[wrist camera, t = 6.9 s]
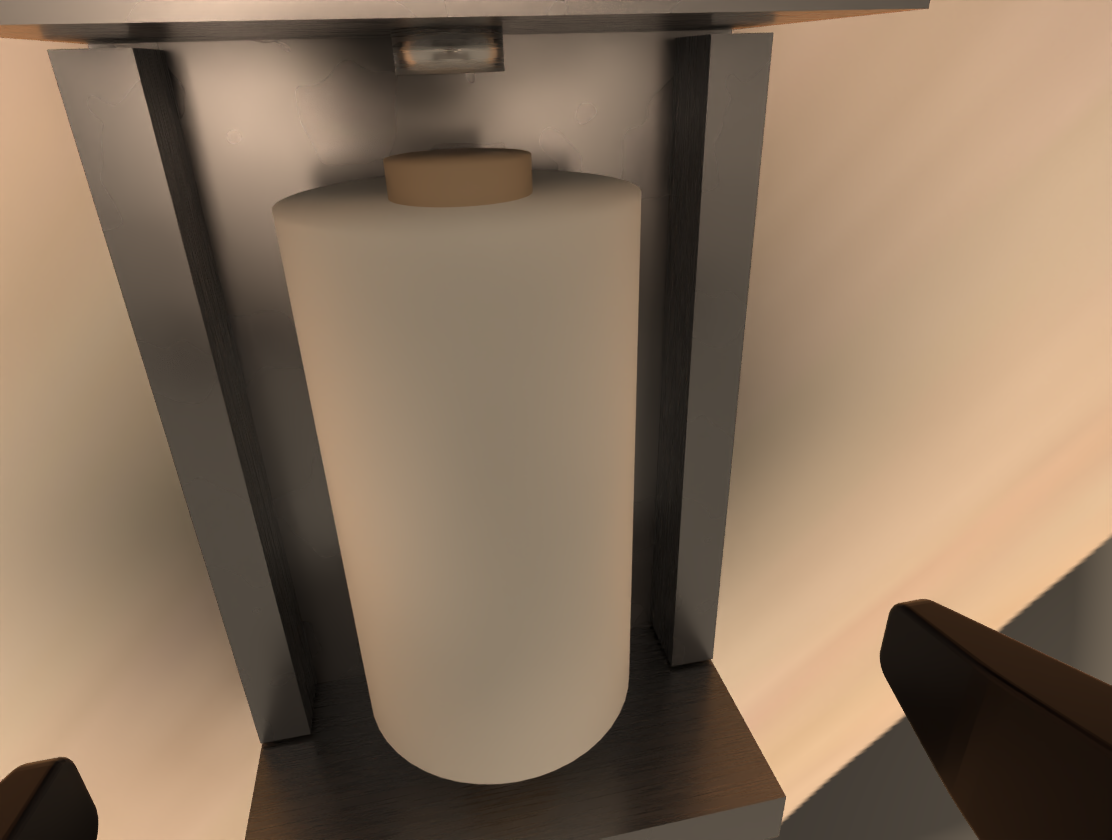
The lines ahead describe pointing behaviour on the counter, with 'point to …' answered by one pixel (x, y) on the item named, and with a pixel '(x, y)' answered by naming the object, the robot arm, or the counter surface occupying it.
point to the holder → (280, 384)
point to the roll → (477, 445)
